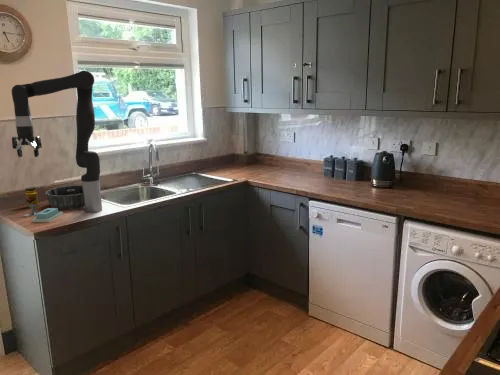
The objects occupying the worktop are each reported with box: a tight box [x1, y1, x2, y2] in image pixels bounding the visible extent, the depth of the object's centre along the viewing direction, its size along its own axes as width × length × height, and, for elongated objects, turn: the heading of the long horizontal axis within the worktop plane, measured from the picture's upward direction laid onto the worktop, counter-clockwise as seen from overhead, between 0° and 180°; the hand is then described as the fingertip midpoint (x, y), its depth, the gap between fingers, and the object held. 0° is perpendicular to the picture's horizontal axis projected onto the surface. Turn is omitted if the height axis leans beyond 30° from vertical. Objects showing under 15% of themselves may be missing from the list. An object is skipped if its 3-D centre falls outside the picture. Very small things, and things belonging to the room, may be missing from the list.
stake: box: [22, 204, 40, 217], centre depth 222 cm, size 8×8×6 cm
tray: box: [31, 211, 64, 223], centre depth 214 cm, size 14×9×2 cm, turn 176°
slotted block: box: [35, 207, 59, 219], centre depth 214 cm, size 11×6×4 cm, turn 176°
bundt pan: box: [45, 184, 84, 211], centre depth 240 cm, size 26×26×10 cm
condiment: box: [24, 186, 40, 209], centre depth 238 cm, size 7×8×12 cm
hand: (28, 156), depth 214 cm, fingers open, 8 cm apart
